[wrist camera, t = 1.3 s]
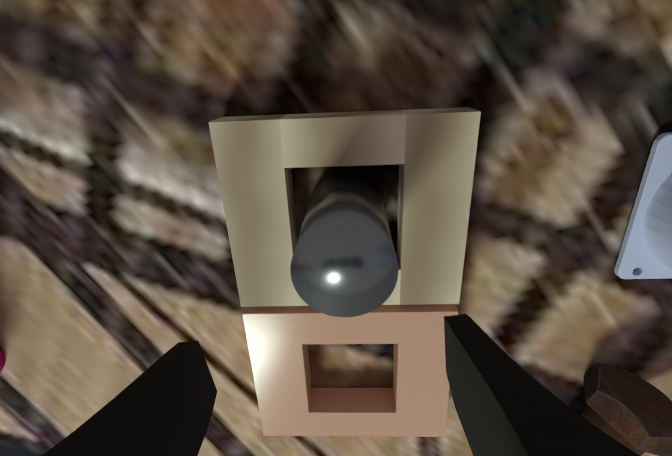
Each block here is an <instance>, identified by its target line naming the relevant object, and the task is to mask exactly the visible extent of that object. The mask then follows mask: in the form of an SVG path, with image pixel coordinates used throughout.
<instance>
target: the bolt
mask: <svg viewBox="0 0 672 456" xmlns="http://www.w3.org/2000/svg"><path fill="white" fill-rule="evenodd" d="M584 387H585V397H586V403H587V405H586V406H585V407H584V409H583V412H582V413H581V416H582V417H584V418H585V419H586V420H588V421H589V422H591V423H592V424H593V425H595V426H596V427H597V428H599V429H600V430H602V431H603V432H605V433H606V434H608V435H609V436H610V437H612V438H613V439H615V440H616V441H618V442H619V443H621V444H622V445H624V446H626V447H627V448H629V449H630V450H632V451H634V452H635V453H637V454H638V455H640V456H641V455H642V454H643V453H644V452H648V453H651V454H655V455H658V456H672V401H671V400H670V399H669V398H668V397H667V396H666V395H665V394H664V393H662V392H661V391H660V390H659V389H657V388H656V387H654V386H653V385H651V384H650V383H648V382H646V381H645V380H643V379H642V378H640V377H638V376H637V375H635V374H633V373H631V372H629V371H627V370H625V369H622V368H619V367H616V366H613V365H606V364H594V365H593V366H592V367H591V369H590V370H589V371H588V372H587V373H586V374H585V375H584Z"/></svg>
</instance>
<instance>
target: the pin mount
mask: <svg viewBox="0 0 672 456" xmlns="http://www.w3.org/2000/svg"><path fill="white" fill-rule="evenodd" d="M480 115H481V111H478V110H475V109H472V108H468V107H457V108H432V109H407V110H382V111H356V112H331V113H306V114H281V115H255V116H230V117H221V118H218V119H216V120H213V121H210V122H209V127H210V133H211V139H212V144H213V150H214V156H215V161H216V167H217V173H218V178H219V184H220V190H221V195H222V201H223V207H224V212H225V218H226V224H227V229H228V235H229V241H230V246H231V252H232V258H233V263H234V269H235V275H236V280H237V286H238V292H239V297H240V303H241V307H263V306H309V305H308V304H306V303H305V302H304V301H303V300H302V299H301V297H300V296H299V295H298V293H297V292H296V290H295V288H294V286H293V283H292V280H291V274H290V266H291V260H292V257H293V253H294V250H295V247H296V244H297V240H298V233H297V222H296V212H295V201H294V190H293V179H292V168H301V167H332V166H363V165H395V164H399V181H398V217H397V252H395V254H396V258H397V263H398V279H397V283H396V286H395V288H394V291H393V292H392V294H391V295H390V297H389V298H388V299H387V300H386V301H385V302H384V303H383V304H382V305H421V304H459V301H460V292H461V283H462V274H463V266H464V257H465V248H466V239H467V230H468V221H469V213H470V204H471V195H472V186H473V177H474V168H475V159H476V151H477V142H478V133H479V124H480Z"/></svg>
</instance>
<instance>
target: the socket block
mask: <svg viewBox="0 0 672 456" xmlns="http://www.w3.org/2000/svg"><path fill="white" fill-rule="evenodd" d="M452 315H458V310H457V308H456V305H455V304H421V305H381V306H379V307H378V308H377V309H375V310H373V311H371V312H369V313H366V314H364V315H360V316H355V317H335V316H330V315H326V314H324V313H321V312H319V311H317V310H315V309H313V308H312V307H310V306H263V307H245V310H244V312H243V320H244V325H245V331H246V337H247V342H248V348H249V354H250V359H251V365H252V371H253V376H254V382H255V388H256V393H257V399H258V405H259V410H260V416H261V422H262V427H263V433H264V436H414V437H444V434H445V425H446V416H447V407H448V398H449V389H450V386H449V382H448V378H447V374H446V361H445V334H444V316H452ZM308 344H394V359H393V388H312V384H311V374H310V363H309V352H308Z"/></svg>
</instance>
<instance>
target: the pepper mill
mask: <svg viewBox="0 0 672 456" xmlns="http://www.w3.org/2000/svg"><path fill="white" fill-rule="evenodd" d="M3 361H4V360H3V355H2V351H1V349H0V372H1V370H2V368H3Z"/></svg>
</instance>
